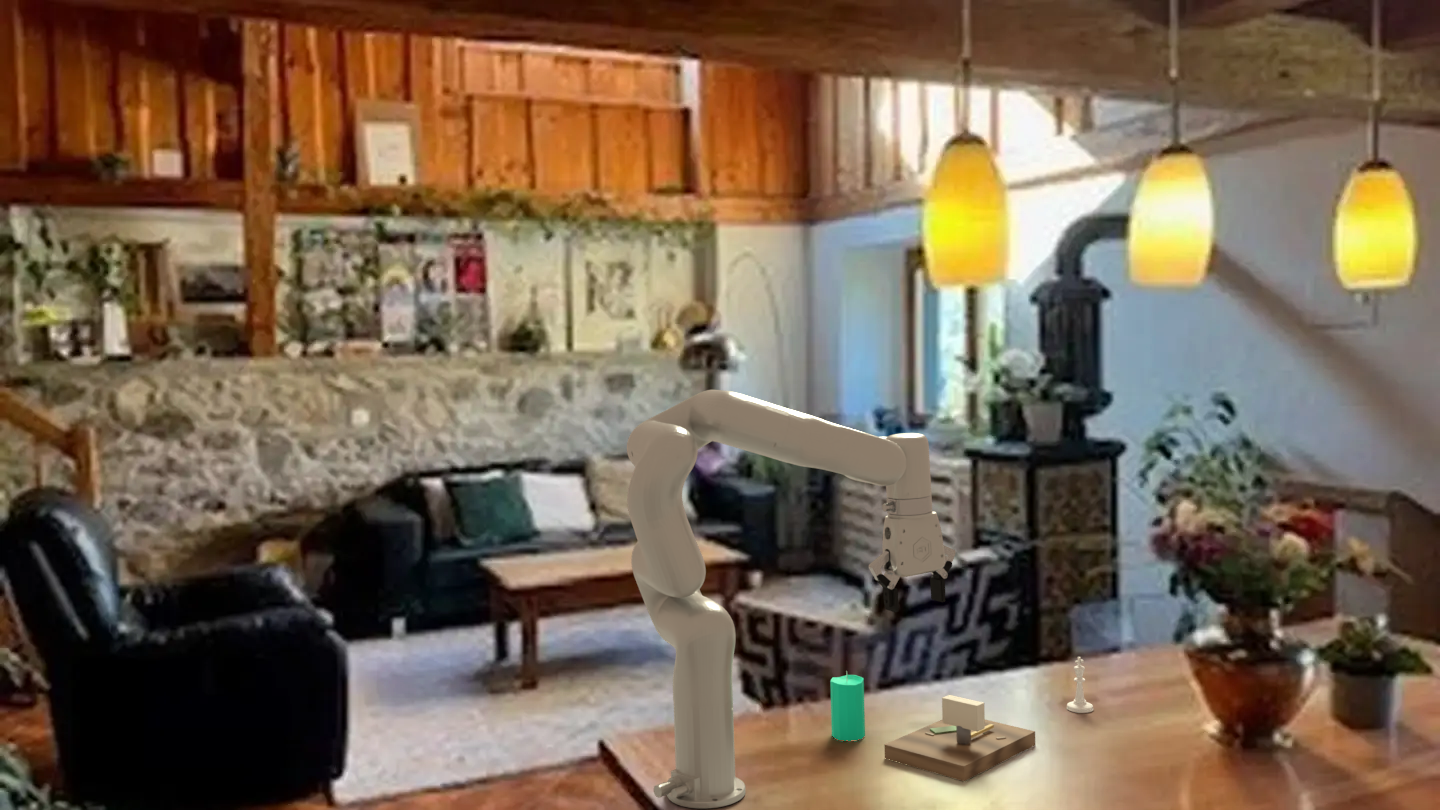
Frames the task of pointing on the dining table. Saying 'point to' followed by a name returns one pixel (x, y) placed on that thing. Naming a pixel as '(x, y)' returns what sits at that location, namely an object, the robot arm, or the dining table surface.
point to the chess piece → (1079, 692)
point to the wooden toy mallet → (964, 717)
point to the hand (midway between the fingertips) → (915, 605)
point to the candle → (847, 707)
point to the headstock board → (959, 749)
